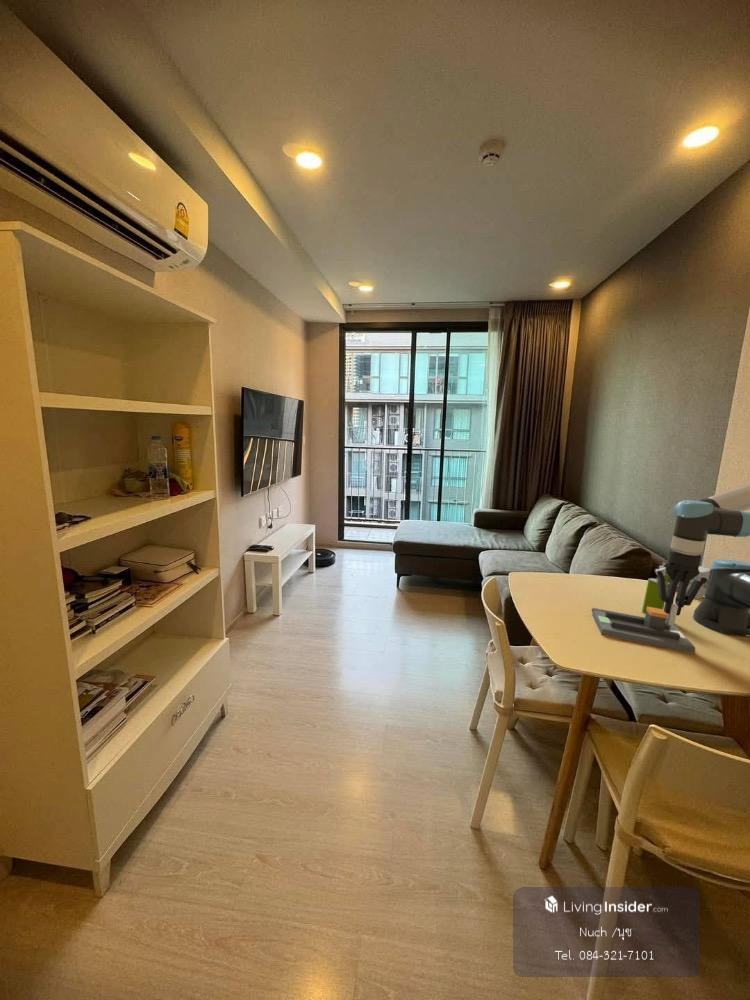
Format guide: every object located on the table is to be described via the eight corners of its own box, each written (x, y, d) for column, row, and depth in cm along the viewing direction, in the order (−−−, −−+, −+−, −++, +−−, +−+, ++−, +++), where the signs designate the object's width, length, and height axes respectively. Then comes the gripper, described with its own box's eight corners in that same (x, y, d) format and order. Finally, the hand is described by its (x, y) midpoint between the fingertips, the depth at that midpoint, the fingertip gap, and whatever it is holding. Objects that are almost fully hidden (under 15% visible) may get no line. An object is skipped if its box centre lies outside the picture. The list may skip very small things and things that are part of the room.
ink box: (672, 591, 158) (678, 564, 156) (684, 588, 161) (690, 562, 159) (697, 599, 150) (703, 571, 148) (708, 597, 154) (714, 569, 152)
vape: (658, 619, 131) (669, 564, 127) (639, 611, 136) (650, 559, 132) (663, 617, 132) (675, 563, 129) (645, 609, 138) (656, 558, 134)
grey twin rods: (665, 624, 127) (666, 620, 127) (669, 628, 124) (670, 624, 124) (590, 610, 134) (591, 606, 134) (592, 614, 132) (593, 610, 131)
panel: (674, 630, 123) (676, 620, 122) (693, 653, 110) (696, 642, 109) (592, 615, 131) (593, 605, 130) (601, 634, 118) (603, 624, 117)
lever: (658, 627, 120) (662, 609, 119) (663, 633, 116) (667, 614, 115) (643, 624, 121) (646, 606, 120) (647, 630, 118) (651, 612, 116)
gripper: (705, 551, 114) (688, 622, 118) (655, 544, 118) (640, 613, 123) (718, 558, 107) (700, 634, 111) (664, 551, 111) (649, 624, 116)
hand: (669, 623), depth 117 cm, fingers closed
